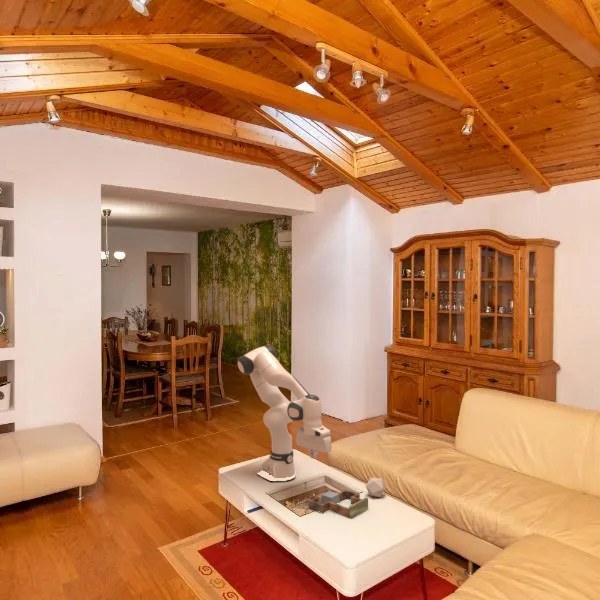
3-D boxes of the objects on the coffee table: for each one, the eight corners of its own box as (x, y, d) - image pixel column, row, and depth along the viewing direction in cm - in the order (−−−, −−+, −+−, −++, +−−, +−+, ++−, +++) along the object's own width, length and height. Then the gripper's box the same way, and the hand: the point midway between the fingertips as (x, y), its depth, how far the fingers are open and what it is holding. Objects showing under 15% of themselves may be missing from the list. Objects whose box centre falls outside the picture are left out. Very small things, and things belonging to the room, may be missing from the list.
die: (374, 502, 226) (386, 484, 226) (360, 489, 231) (372, 472, 231) (379, 502, 233) (391, 485, 234) (365, 489, 238) (376, 473, 238)
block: (321, 504, 224) (321, 494, 224) (329, 500, 229) (329, 490, 229) (331, 507, 220) (331, 497, 220) (339, 503, 225) (339, 493, 225)
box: (304, 506, 222) (304, 495, 222) (333, 492, 237) (332, 482, 237) (345, 522, 205) (345, 510, 205) (373, 506, 220) (373, 495, 220)
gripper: (292, 427, 236) (293, 455, 236) (324, 434, 222) (325, 464, 222) (301, 424, 241) (302, 452, 241) (333, 431, 227) (333, 460, 227)
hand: (313, 458), depth 231 cm, fingers closed
